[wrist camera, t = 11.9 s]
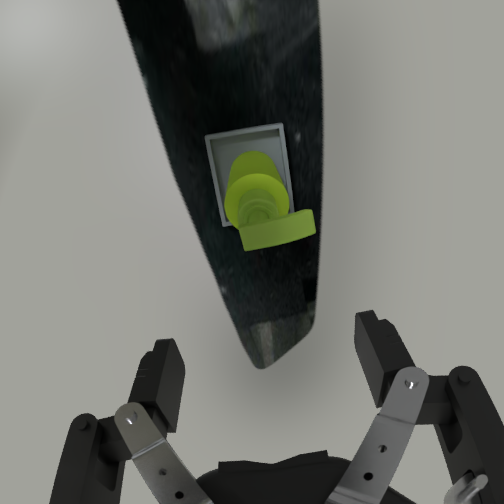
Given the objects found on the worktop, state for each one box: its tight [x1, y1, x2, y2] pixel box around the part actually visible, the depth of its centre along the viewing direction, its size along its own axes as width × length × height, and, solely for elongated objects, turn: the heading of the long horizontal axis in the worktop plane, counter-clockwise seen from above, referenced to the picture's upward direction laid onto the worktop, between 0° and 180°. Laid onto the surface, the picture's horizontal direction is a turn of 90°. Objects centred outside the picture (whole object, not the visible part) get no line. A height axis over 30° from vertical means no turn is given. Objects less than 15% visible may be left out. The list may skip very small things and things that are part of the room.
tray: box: [205, 123, 294, 227], centre depth 40 cm, size 12×10×2 cm
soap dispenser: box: [224, 151, 316, 251], centre depth 32 cm, size 6×7×20 cm
